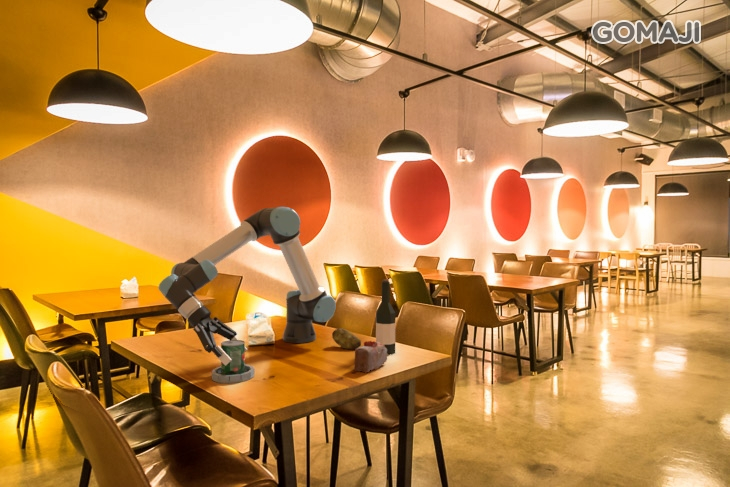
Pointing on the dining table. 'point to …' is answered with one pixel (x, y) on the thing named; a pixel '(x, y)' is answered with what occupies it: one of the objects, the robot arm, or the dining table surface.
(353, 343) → the potato
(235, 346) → the canned tomato
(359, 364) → the food item
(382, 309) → the wine bottle
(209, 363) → the dining table surface
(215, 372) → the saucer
